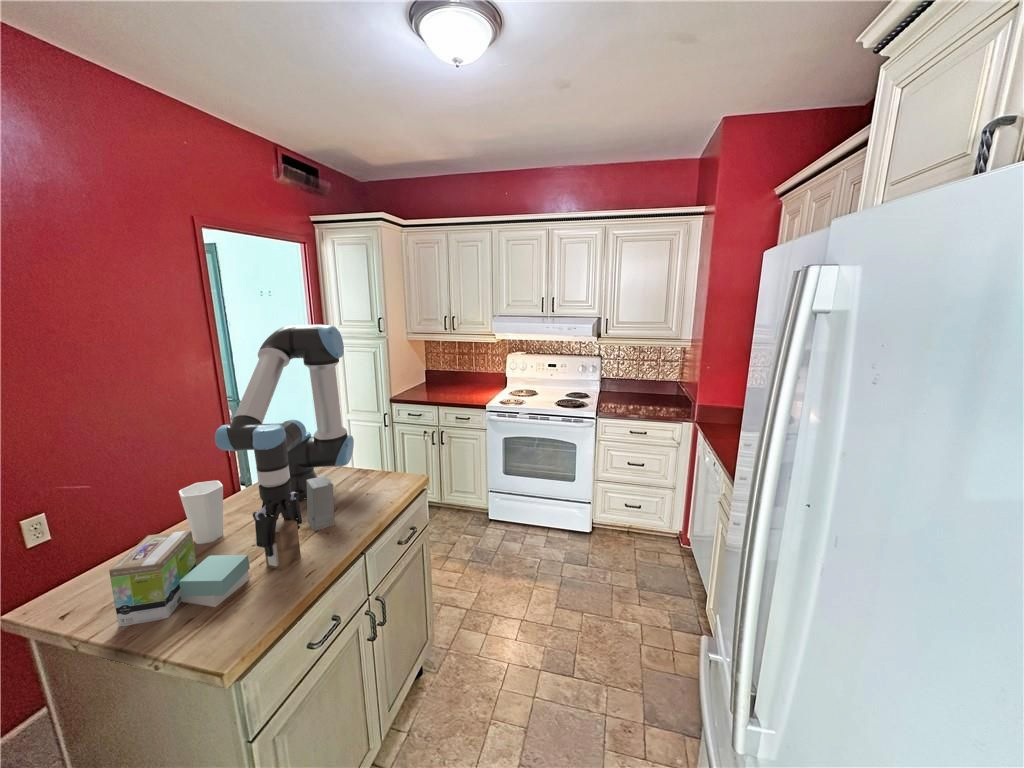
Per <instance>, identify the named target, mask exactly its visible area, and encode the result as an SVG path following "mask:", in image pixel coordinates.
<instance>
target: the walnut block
mask: <svg viewBox="0 0 1024 768" xmlns="http://www.w3.org/2000/svg"><path fill="white" fill-rule="evenodd" d="M298 526H299V525H298ZM298 526H297V521H294V520H291V521H290V520H284V518H283V517H282V518H281V517H279V518H278V520H277V522H276V529H275V531H274V532H275V537H274V543H276V545H277V553H278V561H279V565H278V566H272V565H269V562H268V556H266V554H265V553H264V554H265V556H264V557H265V562H266V567H268V568H271V569H278V570H283V571H285V570H287V569H288V568H289V567H290V566H291V565H292V564H294V563H295V562H296V561H298V560H299V559H300V558H301V557H302V556H301V555H302V554H301V546H300V538H299V537H300V536H299V529H298ZM264 550H265V548H264Z"/></svg>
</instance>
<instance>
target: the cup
mask: <svg viewBox="0 0 1024 768" xmlns="http://www.w3.org/2000/svg"><path fill="white" fill-rule="evenodd" d="M178 494H179V497H180V500H181V503H182V507H183V510H184V513H185V516H186V519H187V522H188V525H189V528H190V530H191V532H192V537H193V542H194V543H195V544H196V545H203V544H209V543H210V544H211V543H212V542H213V543H214V541H216V540H218V539H219V538H221V537H222V536H224V485H223V484H222V482H221V481H220V480H210V481H209V480H208V481H201V482H199V481H198V482H195V483H192V484H191V485H188V486H186V487H183V488H181V489H180V490H178Z"/></svg>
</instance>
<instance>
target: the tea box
mask: <svg viewBox="0 0 1024 768" xmlns="http://www.w3.org/2000/svg"><path fill="white" fill-rule="evenodd" d="M196 566H197V560H196V554H195V546H194V538H193V535H192V532H191V529H190V530H183V531H173V532H166V533H165V532H164V533H156V534H148V535H147V536H145V537H144V538H143V540H141V541H140V542H139V543H138V544H137V545H135V546H134V547H133V548H132V549H131V550H130V551H129V552H128V553H127V554H125V555H124V556H123V557H122V558H121V559H120V560H119V561H118V562H117V563H115V564H114V565H113V566H112V567H111V568H110V569H109V570H108V571H109V578H110V583H111V590H112V591H111V592H112V595H113V596H112V597H113V602H114V608H115V613H116V620H117V625H118V627H119V628H121V626H122V627H127V626H133V625H138V624H143V623H150V622H154V621H158V620H165V619H168V618H169V617H170V616H171V615H172V614H173V612H175V610H176V609H177V607H178V606H179V604H181V597H180V592H179V590H180V585H179V581H180V580H181V579H182V578H183V577H185V576H186V575H187V574H188V573H189V572H190V571H192V570H193V569H194V568H195V567H196Z"/></svg>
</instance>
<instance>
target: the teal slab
mask: <svg viewBox="0 0 1024 768" xmlns="http://www.w3.org/2000/svg"><path fill="white" fill-rule="evenodd" d="M250 567H251V566H250V560H249V555H248V554H232V555H231V554H229V555H228V554H227V555H225V554H221V555H217V554H216V555H215V554H214V555H213V554H212V555H210V554H209V555H208V556H207V557H205V558H204V559H203V560H202V561H201V562H200V563H199V564H198V565H196V567H195V568H194V569H193V570H192V571H190V572H189V573H188V574H187V575H186V576H185V577H183V578H182V579H181V580H180V581H179V585H180V590H181V596H219V595H225V594H226V593H227V592H228V591H229V589H230V588H231V587H232V586H233V585H234V584H235V583H236V582H237V581H238V580H239V579H240V578H241V577H242V576H243V575H244V574H245V573H246V572H247V571H248V572H249V570H250Z"/></svg>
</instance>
